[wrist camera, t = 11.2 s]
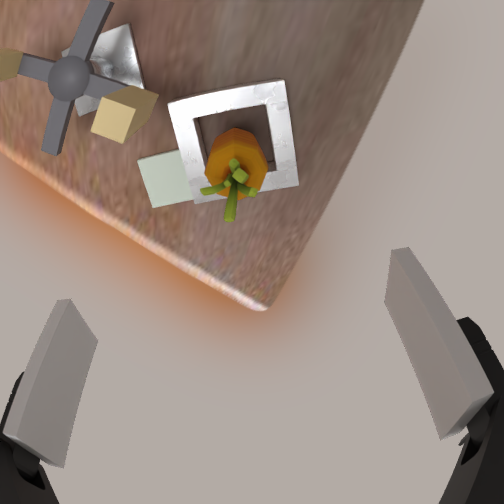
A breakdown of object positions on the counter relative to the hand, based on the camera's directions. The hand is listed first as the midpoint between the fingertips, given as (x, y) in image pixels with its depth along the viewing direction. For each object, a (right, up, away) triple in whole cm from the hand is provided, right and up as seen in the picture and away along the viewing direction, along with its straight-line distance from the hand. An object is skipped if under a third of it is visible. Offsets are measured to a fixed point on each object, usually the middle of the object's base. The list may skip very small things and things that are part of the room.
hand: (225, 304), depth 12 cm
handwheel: (-14, +17, +9) cm, 24 cm away
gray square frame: (-1, +14, +20) cm, 25 cm away
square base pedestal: (-14, +21, +15) cm, 29 cm away
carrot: (-1, +14, +20) cm, 25 cm away
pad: (-8, +10, +22) cm, 26 cm away
